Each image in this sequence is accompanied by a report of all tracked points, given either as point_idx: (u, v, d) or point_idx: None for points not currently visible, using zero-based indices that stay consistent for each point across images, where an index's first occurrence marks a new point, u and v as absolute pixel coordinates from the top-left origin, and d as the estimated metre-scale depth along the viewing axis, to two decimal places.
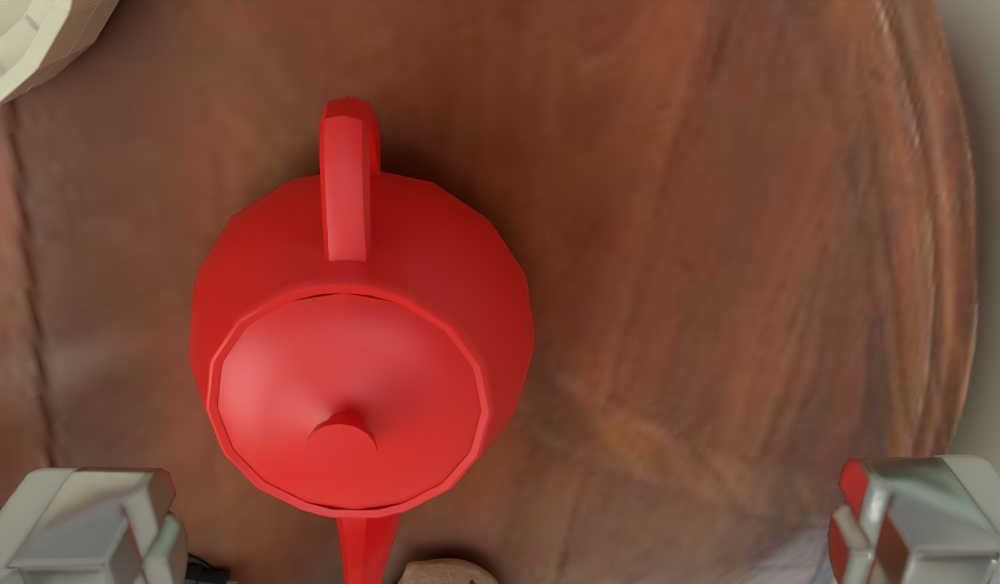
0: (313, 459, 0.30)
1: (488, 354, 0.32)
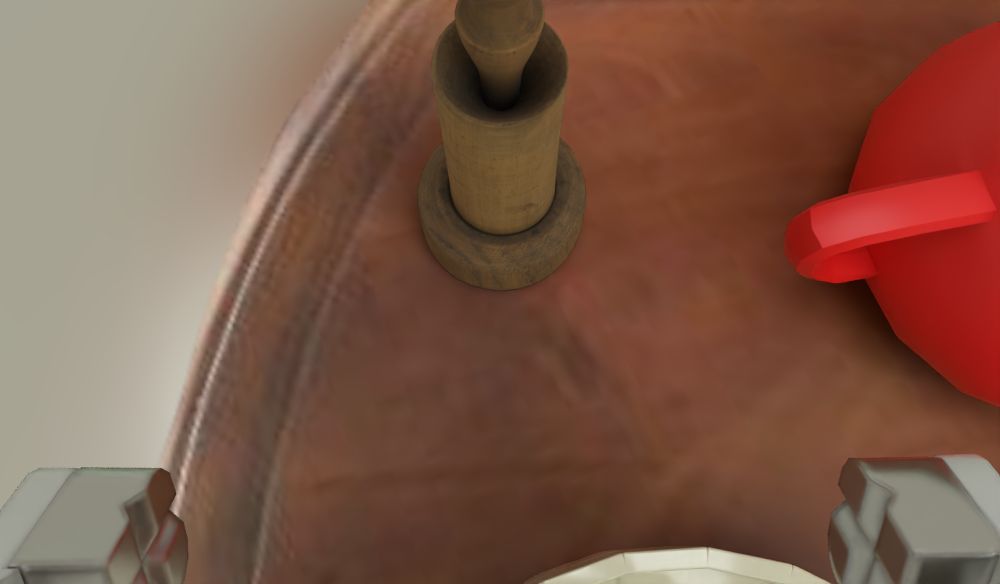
0: None
1: None
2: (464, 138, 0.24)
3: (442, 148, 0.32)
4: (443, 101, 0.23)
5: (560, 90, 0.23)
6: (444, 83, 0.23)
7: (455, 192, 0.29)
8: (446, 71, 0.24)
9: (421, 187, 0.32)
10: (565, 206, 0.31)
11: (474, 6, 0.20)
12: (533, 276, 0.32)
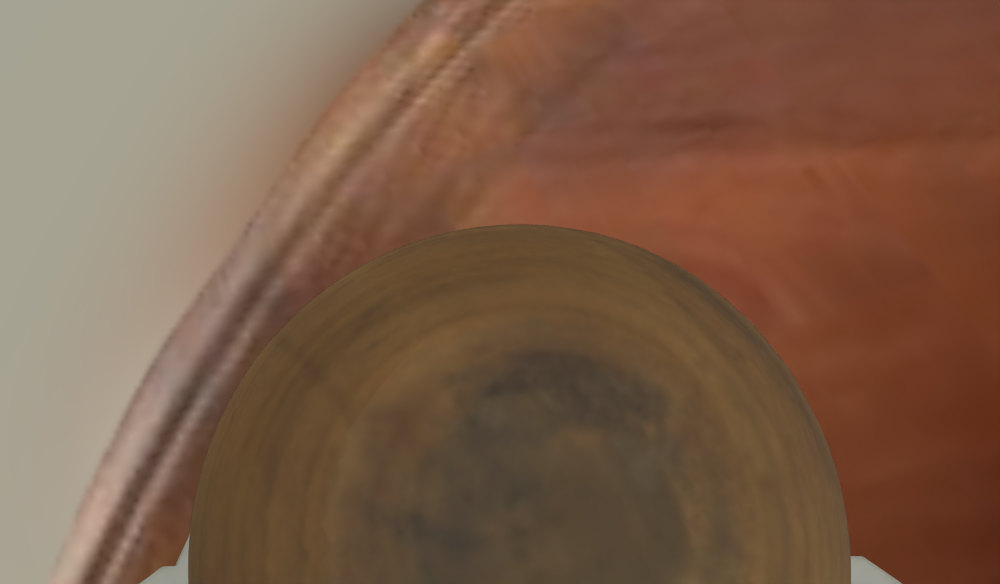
0: None
1: None
2: None
3: None
4: None
5: None
6: None
7: None
8: None
9: None
10: None
11: None
12: None
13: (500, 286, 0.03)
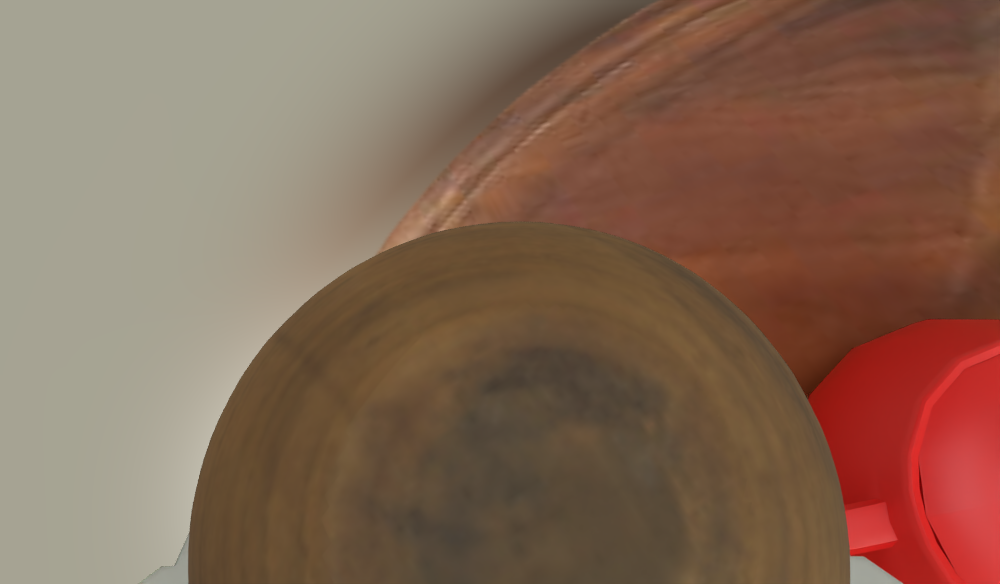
0: None
1: (944, 357, 0.31)
2: None
3: None
4: None
5: None
6: None
7: None
8: None
9: None
10: None
11: None
12: None
13: (500, 282, 0.03)
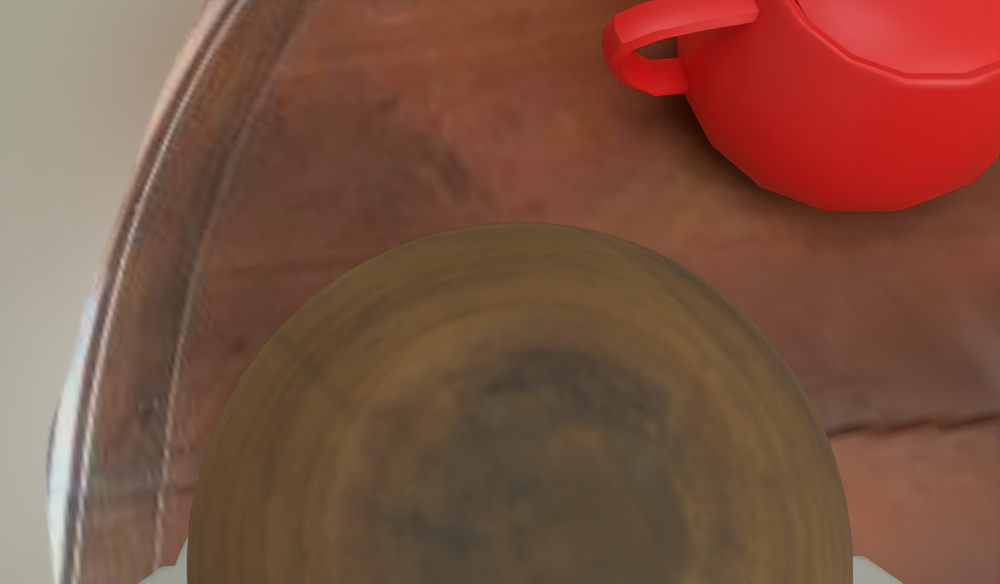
0: None
1: None
2: None
3: None
4: None
5: None
6: None
7: None
8: None
9: None
10: None
11: None
12: None
13: (500, 282, 0.03)
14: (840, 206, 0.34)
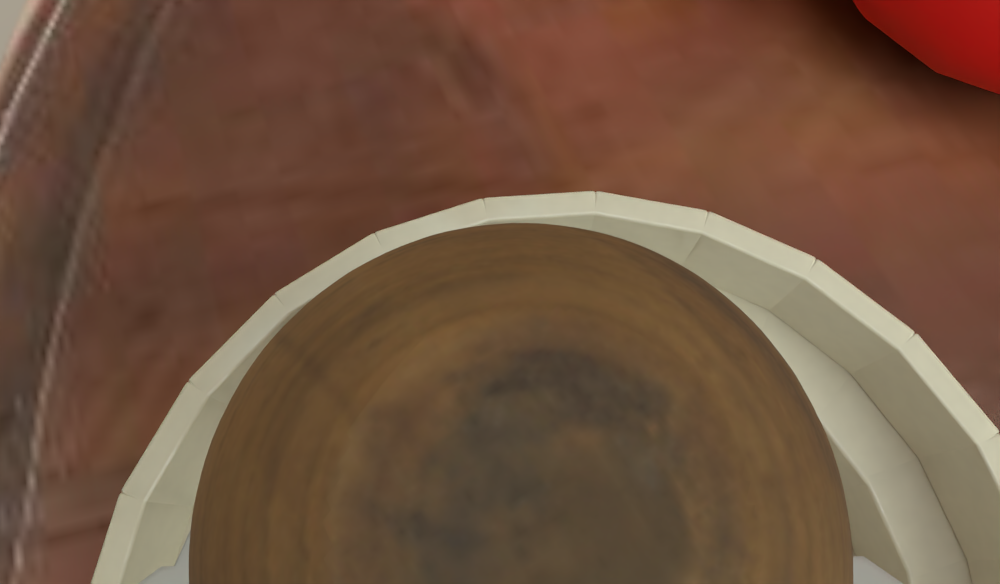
0: None
1: None
2: None
3: None
4: None
5: None
6: None
7: None
8: None
9: None
10: None
11: None
12: None
13: (502, 284, 0.03)
14: None
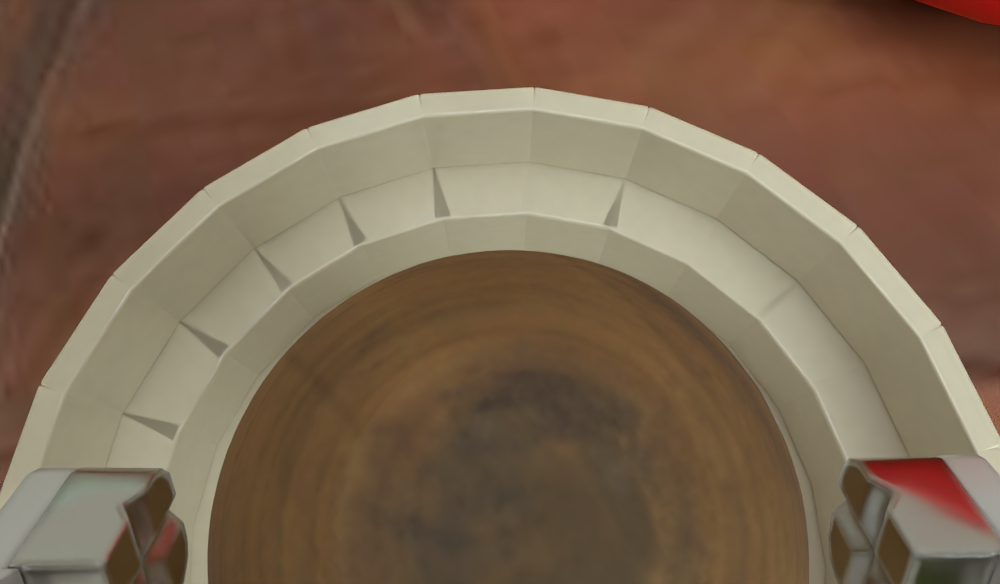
0: None
1: None
2: None
3: None
4: None
5: None
6: None
7: None
8: None
9: None
10: None
11: None
12: None
13: (490, 311, 0.04)
14: None
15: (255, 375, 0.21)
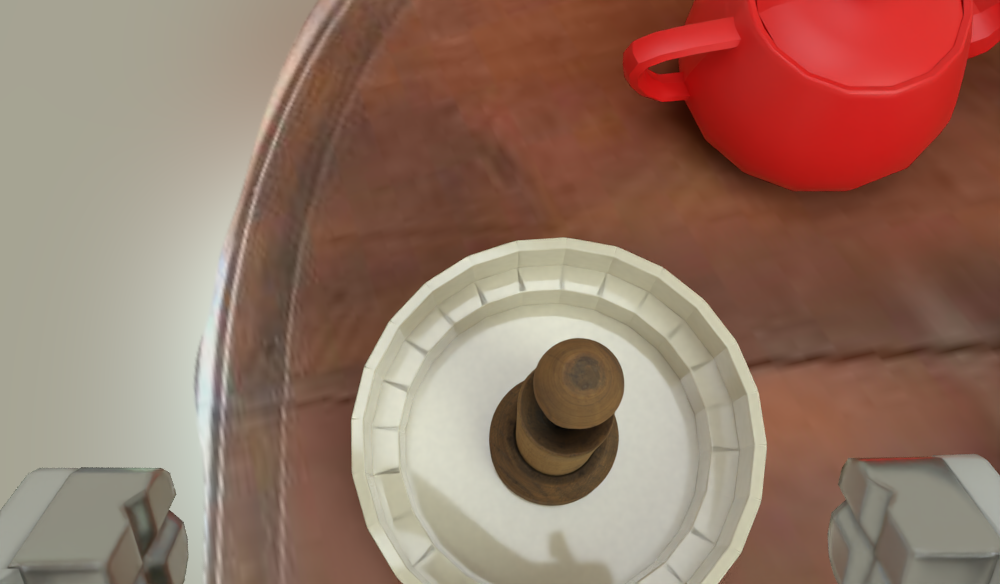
0: None
1: None
2: (539, 452, 0.34)
3: (507, 399, 0.42)
4: (527, 436, 0.33)
5: (609, 428, 0.33)
6: (527, 420, 0.33)
7: (522, 451, 0.39)
8: (527, 409, 0.33)
9: (492, 432, 0.41)
10: (603, 451, 0.41)
11: None
12: (578, 499, 0.42)
13: (579, 349, 0.27)
14: (804, 186, 0.45)
15: (430, 364, 0.45)
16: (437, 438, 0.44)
